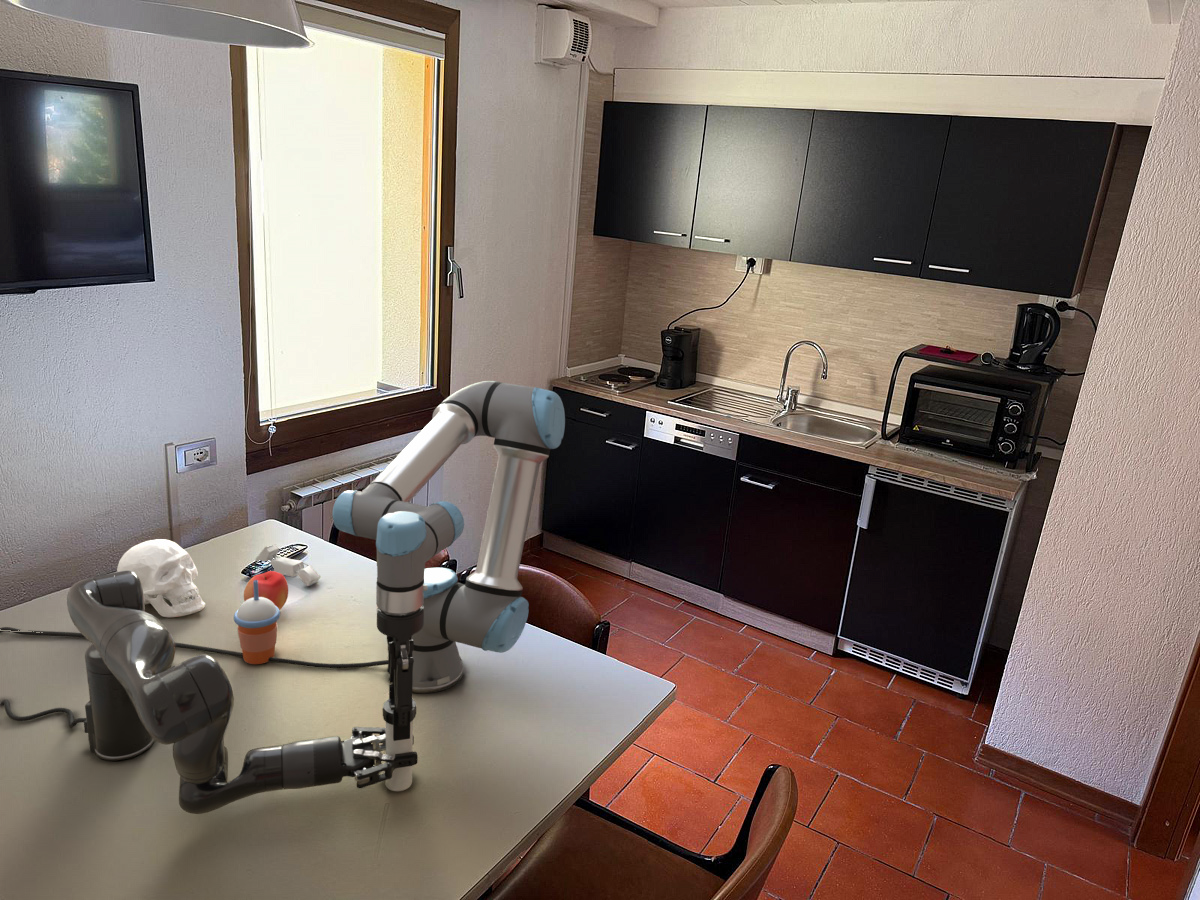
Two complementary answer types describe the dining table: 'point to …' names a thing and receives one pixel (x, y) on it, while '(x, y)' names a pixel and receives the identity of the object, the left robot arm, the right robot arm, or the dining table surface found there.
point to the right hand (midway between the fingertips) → (399, 727)
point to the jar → (404, 774)
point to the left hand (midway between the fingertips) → (414, 748)
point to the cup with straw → (257, 628)
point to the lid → (389, 713)
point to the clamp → (288, 565)
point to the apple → (269, 588)
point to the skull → (164, 576)
